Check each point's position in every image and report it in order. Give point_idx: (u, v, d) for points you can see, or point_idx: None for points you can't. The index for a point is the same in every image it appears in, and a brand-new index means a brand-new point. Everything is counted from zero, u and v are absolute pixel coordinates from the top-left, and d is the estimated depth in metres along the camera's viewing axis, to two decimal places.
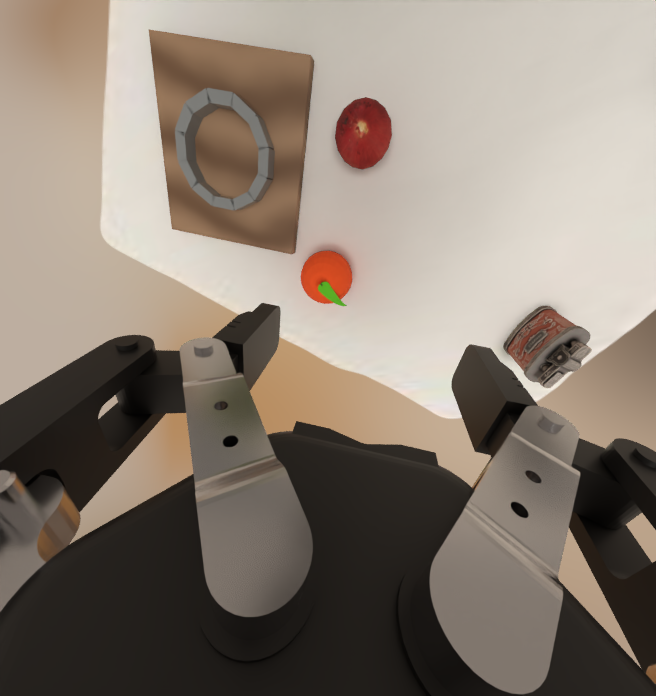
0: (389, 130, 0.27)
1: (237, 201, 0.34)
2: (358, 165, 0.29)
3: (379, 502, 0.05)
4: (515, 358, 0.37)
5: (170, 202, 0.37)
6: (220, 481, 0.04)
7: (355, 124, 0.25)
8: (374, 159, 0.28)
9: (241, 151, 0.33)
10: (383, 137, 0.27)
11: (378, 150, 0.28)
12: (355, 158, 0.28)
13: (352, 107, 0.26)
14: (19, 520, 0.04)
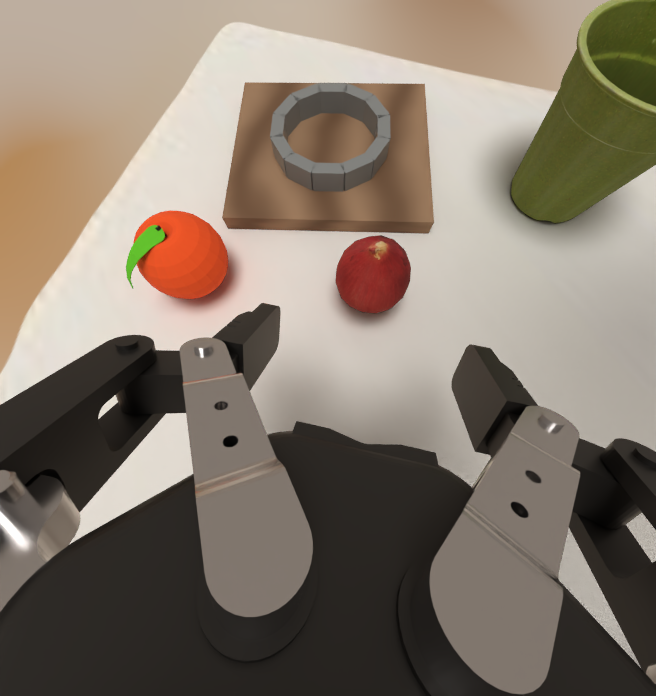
0: (382, 300, 0.20)
1: (281, 140, 0.26)
2: (338, 269, 0.21)
3: (379, 502, 0.05)
4: None
5: (275, 84, 0.30)
6: (220, 481, 0.04)
7: (382, 241, 0.18)
8: (348, 286, 0.20)
9: (337, 157, 0.28)
10: (373, 290, 0.19)
11: (358, 287, 0.19)
12: (345, 259, 0.20)
13: (398, 244, 0.20)
14: (19, 520, 0.04)
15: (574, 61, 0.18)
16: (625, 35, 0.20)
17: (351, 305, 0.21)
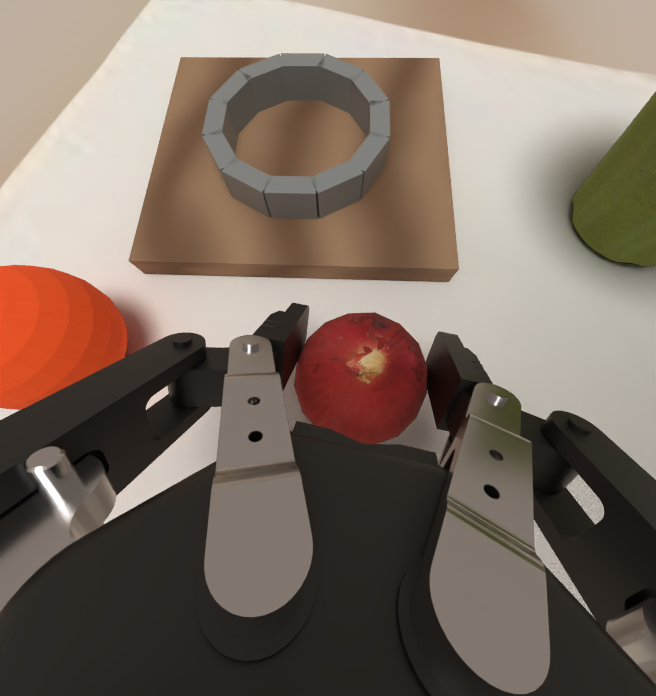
0: (377, 440, 0.11)
1: (218, 140, 0.16)
2: (297, 374, 0.11)
3: (379, 502, 0.05)
4: None
5: (223, 59, 0.21)
6: (237, 473, 0.04)
7: (375, 344, 0.09)
8: (312, 413, 0.11)
9: (310, 166, 0.18)
10: (358, 429, 0.10)
11: (330, 422, 0.10)
12: (306, 363, 0.11)
13: (406, 336, 0.10)
14: (62, 494, 0.05)
15: None
16: None
17: None
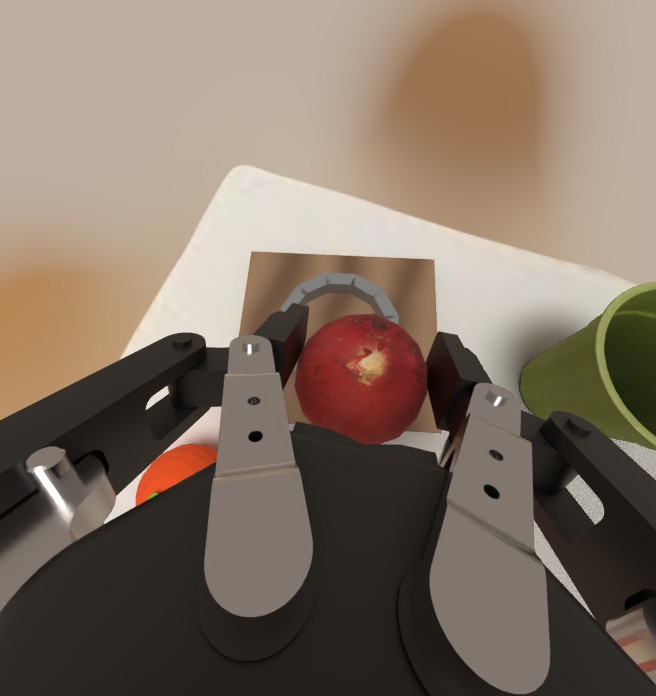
0: (377, 441, 0.11)
1: None
2: (297, 376, 0.11)
3: (379, 502, 0.05)
4: None
5: (282, 254, 0.30)
6: (237, 472, 0.04)
7: (375, 345, 0.09)
8: (312, 414, 0.11)
9: None
10: (358, 431, 0.10)
11: (330, 423, 0.10)
12: (306, 364, 0.11)
13: (406, 338, 0.10)
14: (62, 494, 0.05)
15: (590, 352, 0.18)
16: (643, 303, 0.19)
17: None
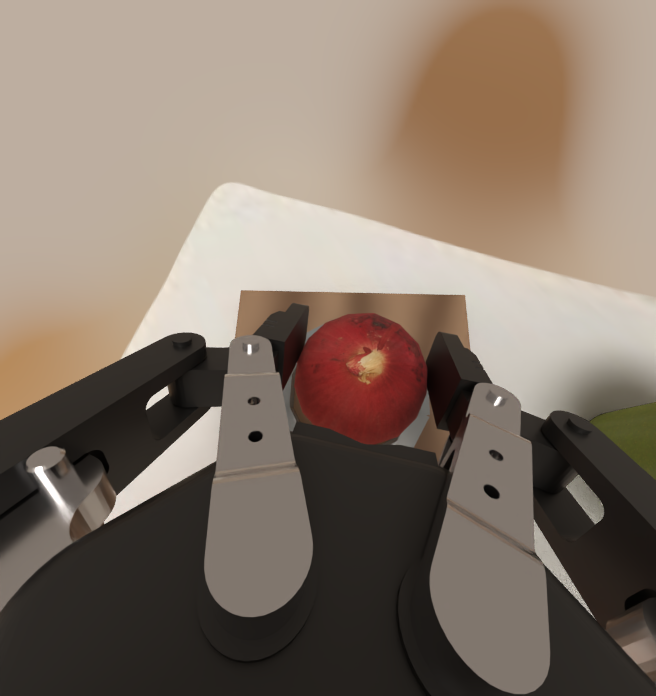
0: (377, 440, 0.11)
1: (287, 416, 0.20)
2: (297, 375, 0.11)
3: (379, 502, 0.05)
4: None
5: (278, 293, 0.24)
6: (237, 473, 0.04)
7: (375, 344, 0.09)
8: (311, 413, 0.11)
9: None
10: (358, 430, 0.10)
11: (329, 423, 0.10)
12: (306, 363, 0.11)
13: (406, 337, 0.10)
14: (62, 494, 0.05)
15: None
16: None
17: None
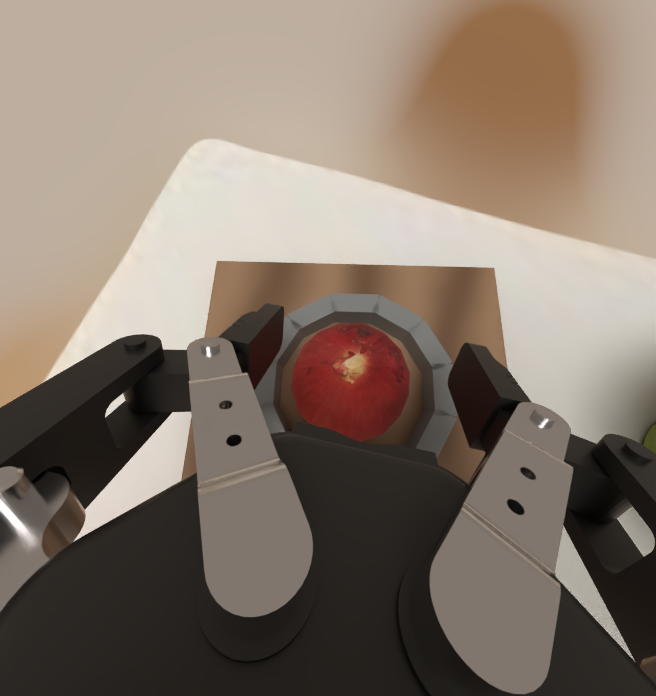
0: (364, 436, 0.12)
1: (269, 417, 0.15)
2: (292, 378, 0.13)
3: (379, 502, 0.05)
4: None
5: (263, 265, 0.20)
6: (222, 479, 0.04)
7: (358, 349, 0.10)
8: (305, 411, 0.12)
9: None
10: (346, 425, 0.11)
11: (321, 419, 0.11)
12: (300, 367, 0.12)
13: (388, 343, 0.12)
14: (25, 516, 0.04)
15: None
16: None
17: None
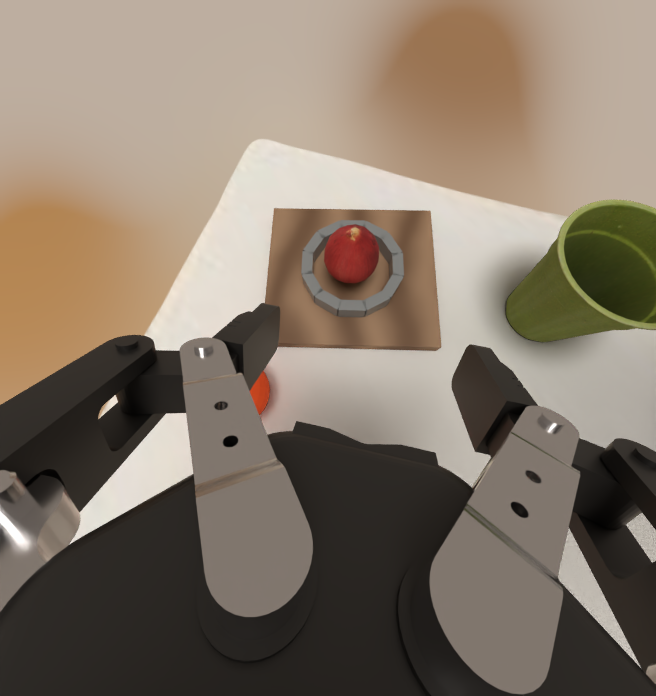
0: (359, 271, 0.27)
1: (310, 277, 0.30)
2: (325, 251, 0.28)
3: (379, 502, 0.05)
4: None
5: (300, 210, 0.35)
6: (220, 481, 0.04)
7: (356, 227, 0.26)
8: (333, 262, 0.27)
9: (357, 284, 0.32)
10: (351, 263, 0.26)
11: (340, 262, 0.27)
12: (330, 242, 0.27)
13: (368, 230, 0.27)
14: (19, 520, 0.04)
15: (555, 255, 0.23)
16: (596, 222, 0.25)
17: (336, 277, 0.29)
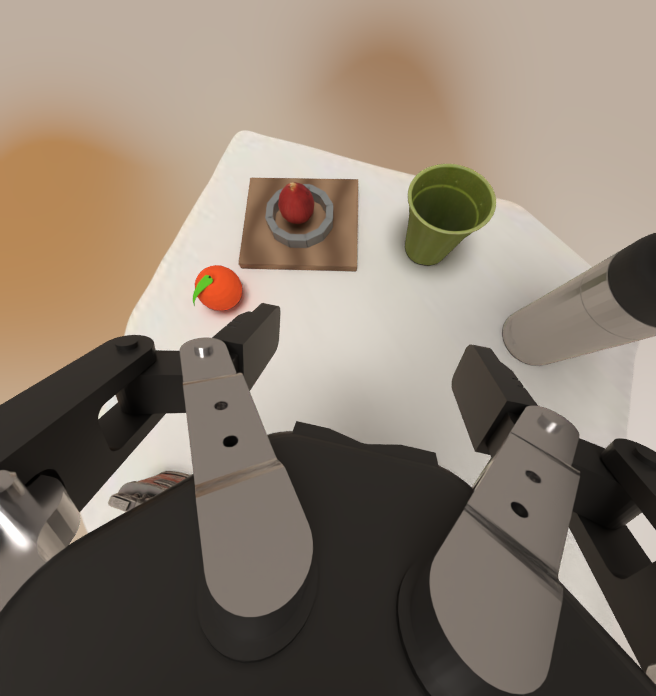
0: (299, 212, 0.43)
1: (271, 220, 0.46)
2: None
3: (379, 502, 0.05)
4: (148, 478, 0.36)
5: (268, 179, 0.50)
6: (220, 481, 0.04)
7: (294, 183, 0.41)
8: (282, 207, 0.43)
9: (304, 227, 0.48)
10: (293, 206, 0.42)
11: (286, 206, 0.42)
12: (280, 194, 0.43)
13: (304, 186, 0.42)
14: (19, 519, 0.04)
15: None
16: (442, 178, 0.40)
17: (286, 218, 0.44)
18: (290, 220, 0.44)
